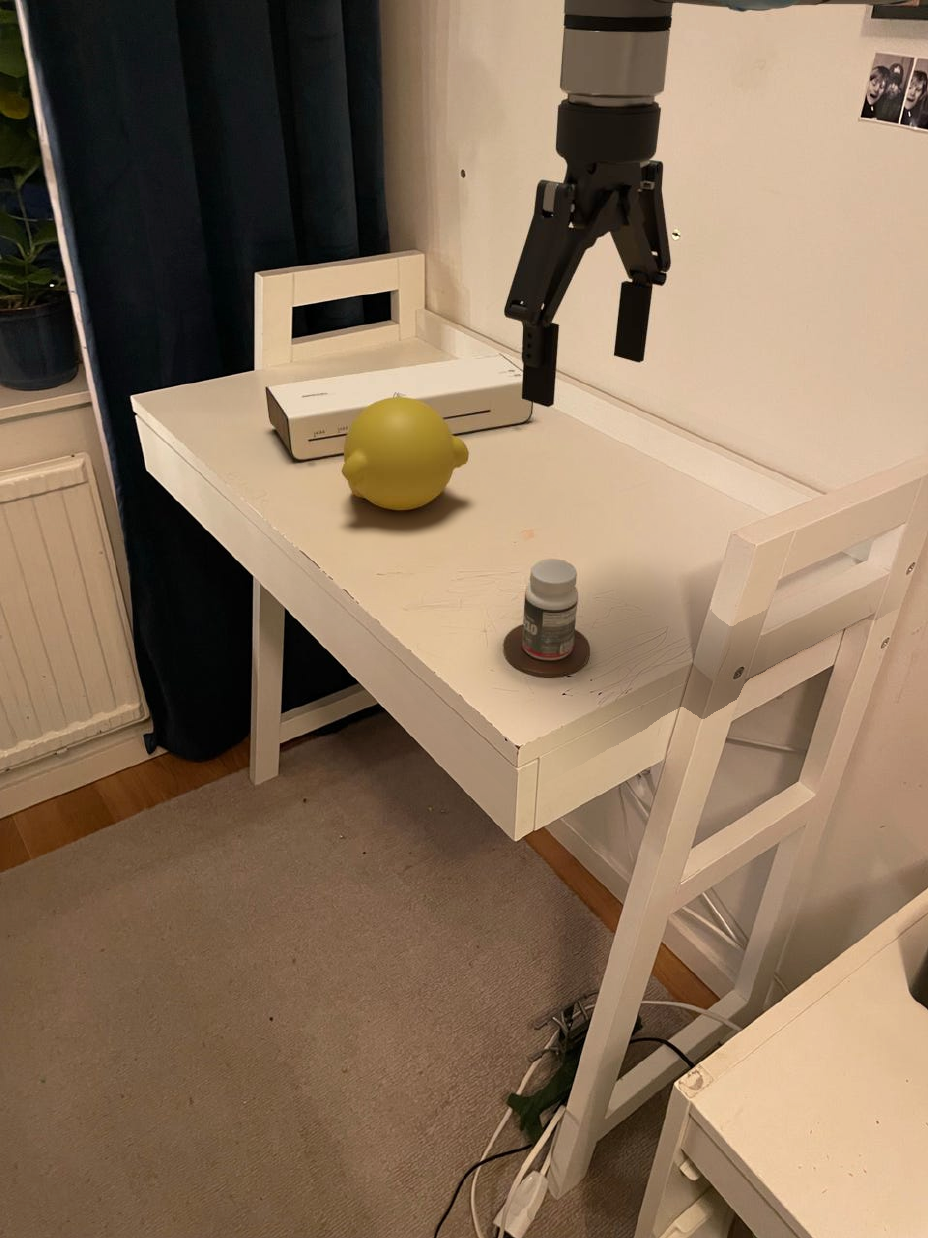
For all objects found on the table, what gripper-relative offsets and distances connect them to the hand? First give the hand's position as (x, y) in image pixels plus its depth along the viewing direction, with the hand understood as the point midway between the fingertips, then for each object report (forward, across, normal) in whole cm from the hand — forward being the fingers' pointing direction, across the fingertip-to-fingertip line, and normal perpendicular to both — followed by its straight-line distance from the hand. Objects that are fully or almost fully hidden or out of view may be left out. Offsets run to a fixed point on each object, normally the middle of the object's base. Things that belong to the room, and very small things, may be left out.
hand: (585, 379), depth 80 cm
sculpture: (+23, -3, -26) cm, 35 cm away
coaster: (+23, +8, +4) cm, 25 cm away
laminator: (+23, -20, -42) cm, 52 cm away
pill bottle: (+23, +8, +4) cm, 24 cm away
